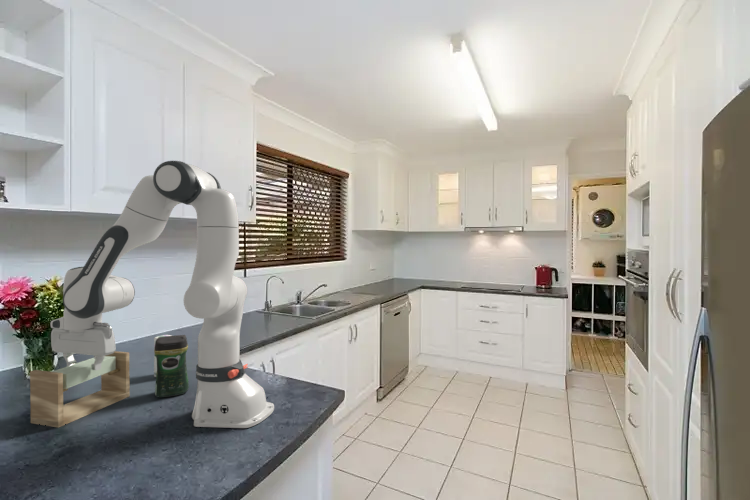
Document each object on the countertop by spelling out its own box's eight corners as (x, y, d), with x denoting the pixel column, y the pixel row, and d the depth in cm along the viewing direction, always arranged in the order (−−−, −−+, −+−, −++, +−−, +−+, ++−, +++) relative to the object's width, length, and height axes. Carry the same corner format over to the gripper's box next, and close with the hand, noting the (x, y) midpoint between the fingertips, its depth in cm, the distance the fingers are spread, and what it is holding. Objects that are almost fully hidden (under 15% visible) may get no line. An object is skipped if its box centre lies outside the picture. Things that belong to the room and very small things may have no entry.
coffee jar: (189, 386, 126) (189, 332, 125) (187, 395, 118) (187, 337, 118) (156, 391, 122) (156, 334, 121) (152, 400, 114) (152, 340, 114)
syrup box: (153, 376, 135) (152, 337, 135) (168, 371, 140) (168, 333, 140) (162, 379, 132) (162, 339, 132) (178, 374, 138) (178, 335, 137)
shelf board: (98, 368, 117) (98, 355, 117) (115, 369, 116) (115, 356, 116) (47, 387, 101) (47, 373, 101) (66, 388, 100) (66, 374, 100)
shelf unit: (105, 393, 120) (104, 350, 120) (129, 396, 117) (129, 352, 117) (30, 423, 100) (30, 371, 100) (58, 427, 97) (57, 374, 97)
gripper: (121, 320, 109) (121, 367, 109) (68, 317, 114) (69, 362, 114) (100, 325, 103) (101, 374, 103) (45, 321, 108) (46, 369, 108)
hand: (83, 368), depth 108 cm, fingers open, 8 cm apart
